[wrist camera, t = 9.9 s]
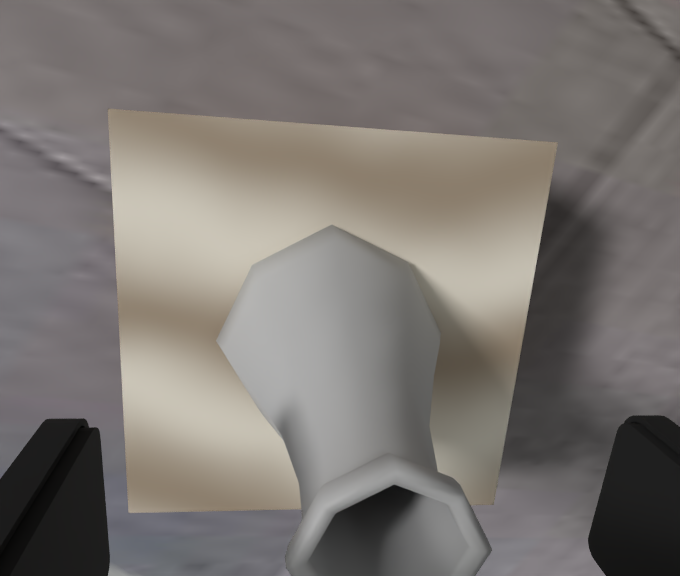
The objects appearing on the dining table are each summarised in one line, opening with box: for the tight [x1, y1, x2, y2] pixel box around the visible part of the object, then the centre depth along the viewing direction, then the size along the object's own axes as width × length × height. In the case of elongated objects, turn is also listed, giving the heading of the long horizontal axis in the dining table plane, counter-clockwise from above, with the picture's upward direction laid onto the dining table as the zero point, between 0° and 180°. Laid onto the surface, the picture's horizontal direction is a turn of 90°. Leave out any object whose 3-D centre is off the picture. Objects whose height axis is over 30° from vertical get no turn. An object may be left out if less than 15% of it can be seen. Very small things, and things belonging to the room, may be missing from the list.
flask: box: [216, 225, 492, 576], centre depth 13 cm, size 7×7×10 cm
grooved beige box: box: [108, 109, 558, 513], centre depth 21 cm, size 14×14×7 cm
